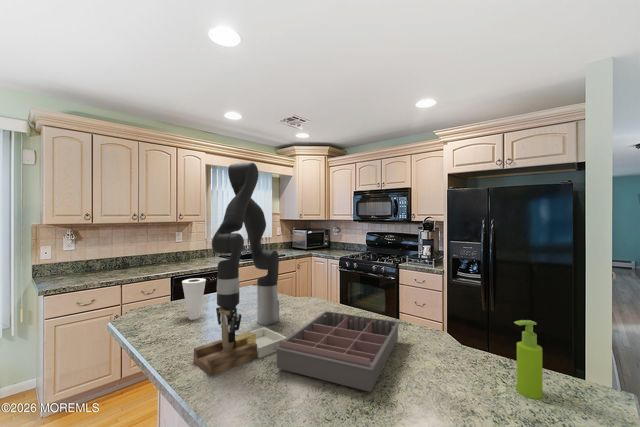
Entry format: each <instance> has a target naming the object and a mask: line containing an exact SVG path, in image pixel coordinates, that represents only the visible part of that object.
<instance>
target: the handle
mask: <svg viewBox="0 0 640 427" xmlns="http://www.w3.org/2000/svg"><path fill="white" fill-rule="evenodd" d="M219 307H220V306H219ZM236 310H237V311H238V308H237V307H236ZM219 312H220V314H222V315H223V329H222V328H221V340H222V344H223V351H224V353H225V352H227V351H230V350H233V348H232V347H233V344H234V342H232V343H229V342H228V326H227V325H226V320H225V317H224V315H230V311H228V310H226V309H224V308H222V307H220V308H219ZM229 322H232V321H229ZM231 326H232V324H231Z"/></svg>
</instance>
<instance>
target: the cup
mask: <svg viewBox="0 0 640 427" xmlns="http://www.w3.org/2000/svg"><path fill="white" fill-rule="evenodd" d="M206 281H207V279H206V278H203V277H202V278H200V277H199V278H198V277H197V278H196V277H195V278H187V279H184V280H182V281H181V284H182V289H183V290H182V291H183V293H184V294H183V295H184V300H185V301H184V302H185V304H186V305H185V306H186V311H187V317H188V320H189V319H190V321H194V320H198V319H200V316H201V313H202V312H201V311H202V304H203V298H204V294H205V293H204V292H205V287H206Z"/></svg>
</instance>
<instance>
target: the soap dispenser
mask: <svg viewBox="0 0 640 427" xmlns="http://www.w3.org/2000/svg"><path fill="white" fill-rule="evenodd" d="M513 323H514V324H515V325H517V326H519V327H520V326H525V330H523V331H521V341H517V342H516V391H517V392H518V393H519V394H520V395H521V396H523V397H525V398H529V399H531V400H540V399H542V398H543V347H542V346H541V345H539V344H537V343H538V340H537V338H538V335H537V333H535V332H534V325H535V326H537V322H536V321H533V320H532V319H531V320H530V319H520V320H516V321H514V322H513Z"/></svg>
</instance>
